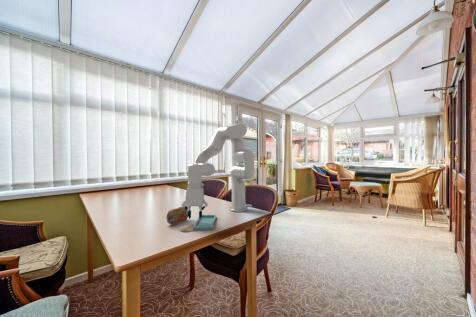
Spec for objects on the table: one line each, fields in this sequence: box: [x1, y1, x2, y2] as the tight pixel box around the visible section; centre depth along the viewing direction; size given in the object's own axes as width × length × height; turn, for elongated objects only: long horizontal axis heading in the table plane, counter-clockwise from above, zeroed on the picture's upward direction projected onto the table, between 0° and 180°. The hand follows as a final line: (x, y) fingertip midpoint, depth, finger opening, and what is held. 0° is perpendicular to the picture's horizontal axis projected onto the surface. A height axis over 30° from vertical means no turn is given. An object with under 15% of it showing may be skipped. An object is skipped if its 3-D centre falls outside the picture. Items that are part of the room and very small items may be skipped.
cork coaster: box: [179, 225, 195, 233], centre depth 107 cm, size 8×8×1 cm
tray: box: [192, 214, 217, 231], centre depth 116 cm, size 10×21×2 cm, turn 1°
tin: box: [166, 206, 189, 226], centre depth 118 cm, size 15×3×8 cm, turn 149°
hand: (195, 217), depth 115 cm, fingers open, 5 cm apart
